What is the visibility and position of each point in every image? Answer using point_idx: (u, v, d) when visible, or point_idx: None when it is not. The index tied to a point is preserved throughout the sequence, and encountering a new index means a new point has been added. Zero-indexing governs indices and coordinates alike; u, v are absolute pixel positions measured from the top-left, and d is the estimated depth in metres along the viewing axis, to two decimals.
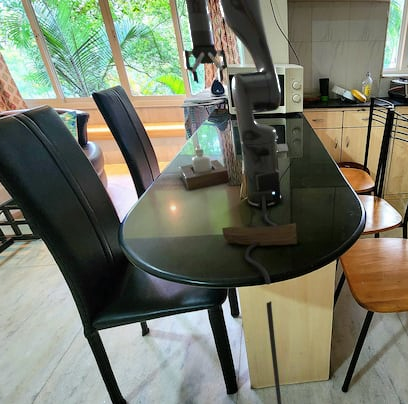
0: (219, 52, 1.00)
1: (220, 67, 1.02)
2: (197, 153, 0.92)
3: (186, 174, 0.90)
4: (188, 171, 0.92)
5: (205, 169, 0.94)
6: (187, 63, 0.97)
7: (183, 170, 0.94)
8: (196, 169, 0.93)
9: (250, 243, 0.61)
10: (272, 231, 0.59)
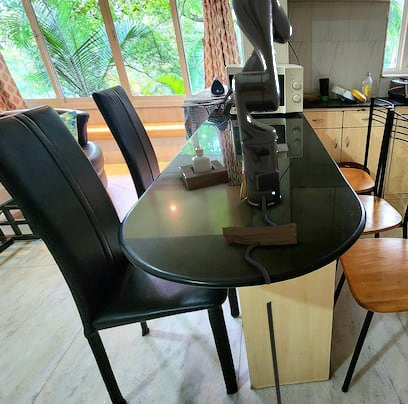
0: None
1: None
2: (197, 153, 0.92)
3: (186, 174, 0.90)
4: (188, 171, 0.92)
5: (205, 169, 0.94)
6: (226, 95, 0.97)
7: (183, 170, 0.94)
8: (196, 169, 0.93)
9: (250, 243, 0.61)
10: (272, 231, 0.59)
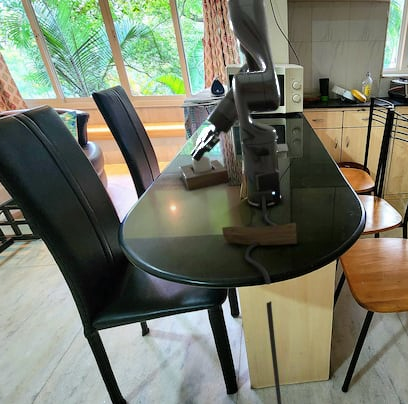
0: None
1: (200, 145, 0.90)
2: None
3: (186, 174, 0.90)
4: (188, 171, 0.92)
5: (205, 169, 0.94)
6: (199, 137, 0.95)
7: (183, 170, 0.94)
8: (196, 169, 0.93)
9: (250, 243, 0.61)
10: (272, 231, 0.59)
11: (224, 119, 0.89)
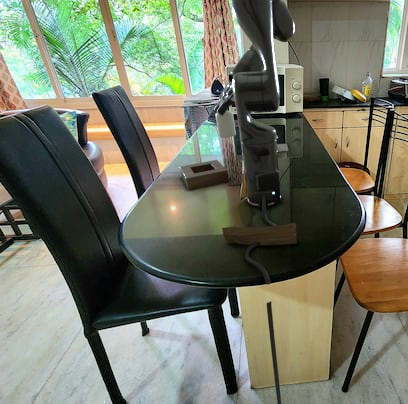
0: None
1: (225, 99, 0.89)
2: None
3: (186, 174, 0.90)
4: (188, 171, 0.92)
5: (229, 124, 0.93)
6: (221, 93, 0.95)
7: (183, 170, 0.94)
8: (219, 124, 0.92)
9: (250, 243, 0.61)
10: (272, 231, 0.59)
11: (249, 72, 0.88)
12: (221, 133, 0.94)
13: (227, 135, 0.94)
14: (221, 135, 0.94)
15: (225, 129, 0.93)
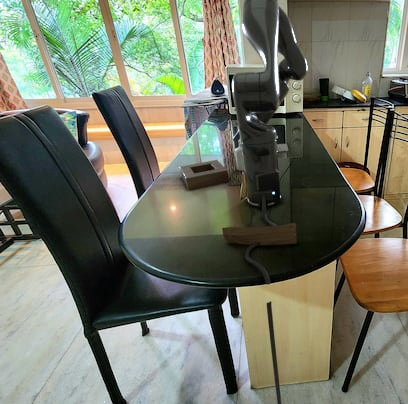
0: None
1: None
2: None
3: (186, 174, 0.90)
4: (188, 171, 0.92)
5: None
6: None
7: (183, 170, 0.94)
8: (238, 159, 1.01)
9: (250, 243, 0.61)
10: (272, 231, 0.59)
11: None
12: (240, 167, 1.02)
13: None
14: (239, 168, 1.02)
15: None
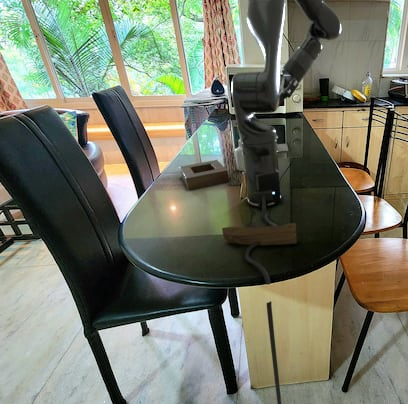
0: None
1: (281, 91, 0.94)
2: (240, 144, 0.99)
3: (186, 174, 0.90)
4: (188, 171, 0.92)
5: None
6: None
7: (183, 170, 0.94)
8: (238, 159, 1.01)
9: (250, 243, 0.61)
10: (272, 231, 0.59)
11: (299, 68, 0.95)
12: (240, 167, 1.02)
13: None
14: (239, 168, 1.02)
15: None
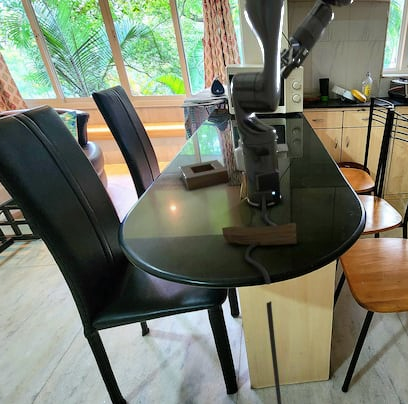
0: None
1: (289, 61, 0.87)
2: (240, 144, 0.99)
3: (186, 174, 0.90)
4: (188, 171, 0.92)
5: None
6: None
7: (183, 170, 0.94)
8: (238, 159, 1.01)
9: (250, 243, 0.61)
10: (272, 231, 0.59)
11: (309, 36, 0.88)
12: (240, 167, 1.02)
13: None
14: (239, 168, 1.02)
15: None
